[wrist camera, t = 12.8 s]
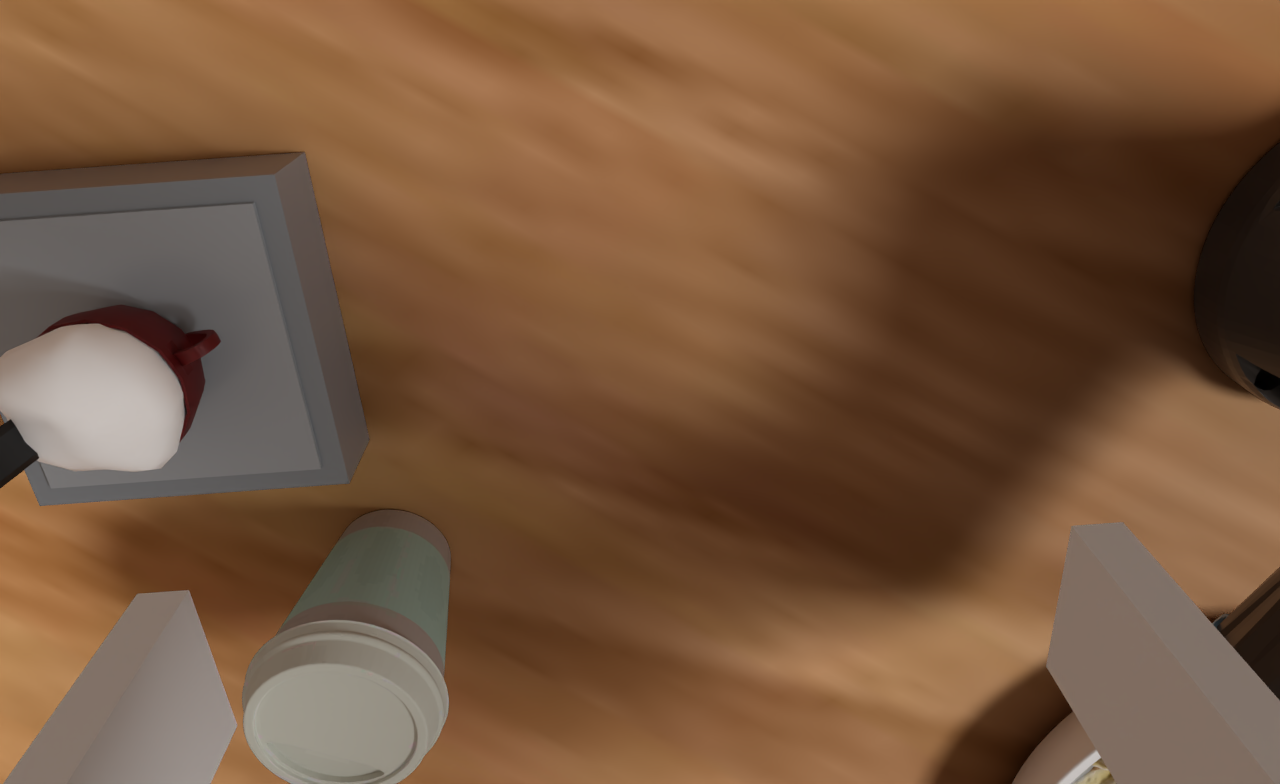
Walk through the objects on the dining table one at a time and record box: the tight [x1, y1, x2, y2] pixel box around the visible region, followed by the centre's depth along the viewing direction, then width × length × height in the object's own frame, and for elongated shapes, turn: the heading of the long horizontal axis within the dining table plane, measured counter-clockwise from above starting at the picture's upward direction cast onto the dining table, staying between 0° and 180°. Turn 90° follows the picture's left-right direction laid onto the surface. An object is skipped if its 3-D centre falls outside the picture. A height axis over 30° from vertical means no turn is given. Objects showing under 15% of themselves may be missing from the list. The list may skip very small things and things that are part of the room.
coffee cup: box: [242, 510, 451, 784], centre depth 43 cm, size 8×9×12 cm
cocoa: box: [0, 304, 221, 488], centre depth 33 cm, size 10×6×12 cm, turn 91°
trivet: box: [0, 152, 370, 506], centre depth 40 cm, size 14×14×4 cm
